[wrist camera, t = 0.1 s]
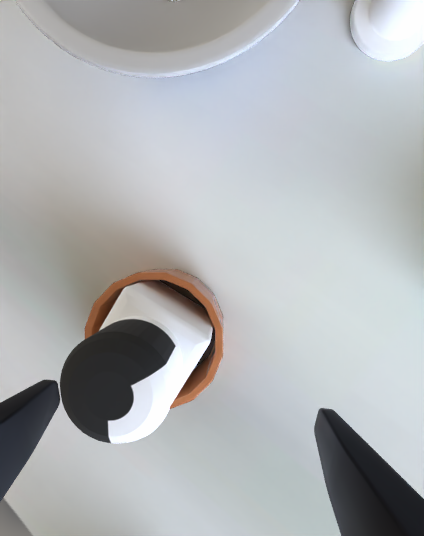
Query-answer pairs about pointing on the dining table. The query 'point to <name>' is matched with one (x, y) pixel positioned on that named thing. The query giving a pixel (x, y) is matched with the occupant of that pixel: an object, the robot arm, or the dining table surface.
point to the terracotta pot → (210, 365)
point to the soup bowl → (156, 31)
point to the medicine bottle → (134, 363)
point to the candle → (388, 27)
